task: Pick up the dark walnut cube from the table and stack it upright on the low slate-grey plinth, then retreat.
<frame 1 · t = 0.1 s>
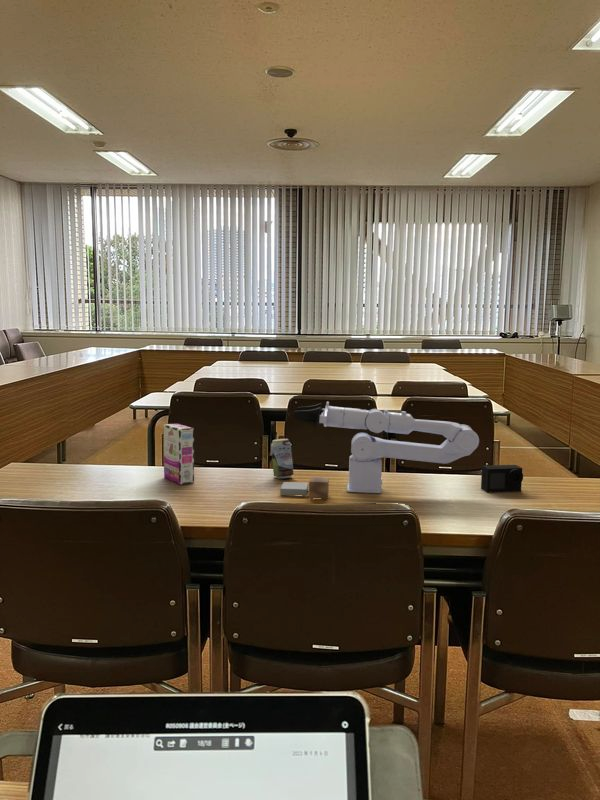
hand: (295, 412, 183), 22 cm above the table, tool horizontal, fingers open, 7 cm apart
plinth: (294, 492, 180), on the table
walnut block: (318, 497, 176), on the table
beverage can: (282, 478, 197), on the table
candy bar box: (179, 480, 193), on the table
digital camera: (501, 491, 185), on the table
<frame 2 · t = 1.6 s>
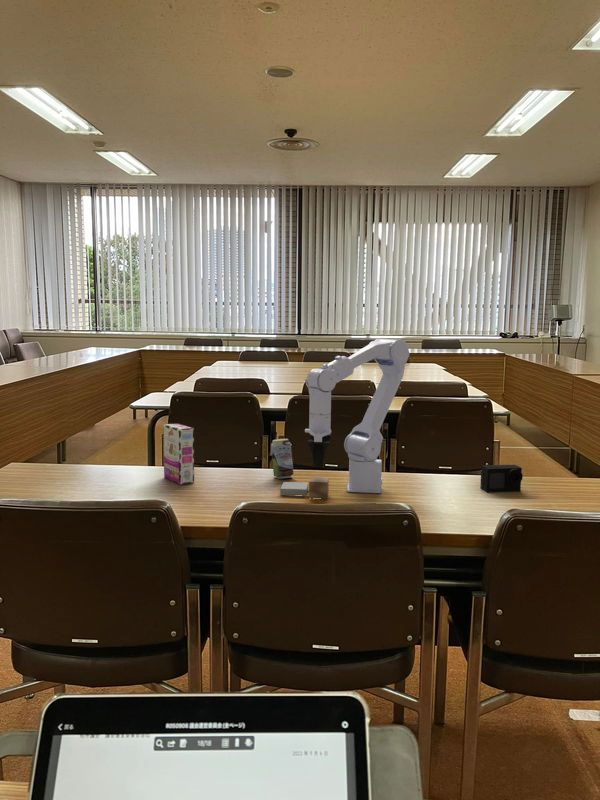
hand: (319, 463, 175), 9 cm above the table, tool pointing down, fingers open, 7 cm apart
nothing on the table moved.
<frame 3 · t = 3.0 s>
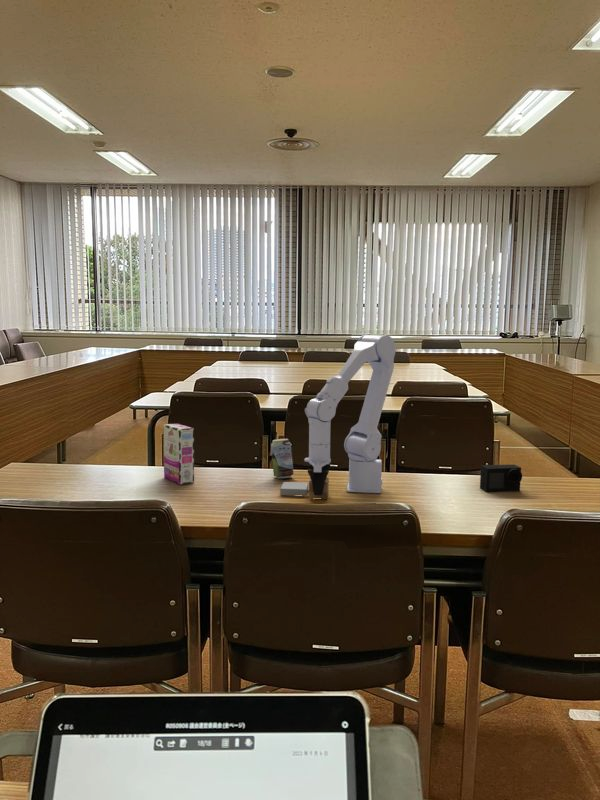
hand: (318, 492, 176), 1 cm above the table, tool pointing down, fingers closed on walnut block, 5 cm apart
walnut block: (318, 497, 176), on the table, touching gripper
everything else where it was.
when the fingers open (4 cm above the table, at t = 5.6 s): walnut block stays where it is, resting on plinth.
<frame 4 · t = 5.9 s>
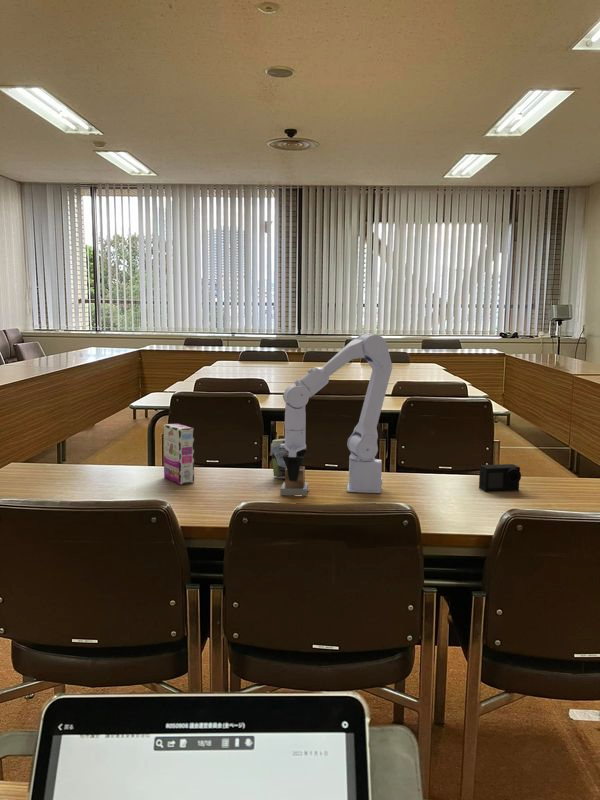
hand: (294, 477, 180), 4 cm above the table, tool pointing down, fingers open, 7 cm apart
walnut block: (295, 485, 180), point 2 cm above the table, touching plinth
everything else where it was.
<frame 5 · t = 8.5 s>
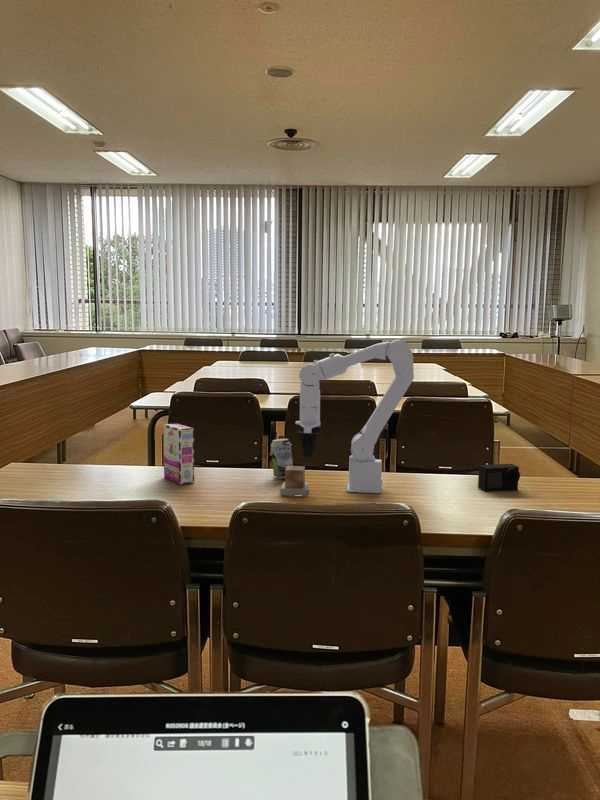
hand: (309, 453, 185), 10 cm above the table, tool pointing down, fingers open, 7 cm apart
at the end: walnut block 0.1 cm off-centre on the plinth, point 2.0 cm above the plinth's base; walnut block tilted 0°; the gripper is holding nothing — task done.
